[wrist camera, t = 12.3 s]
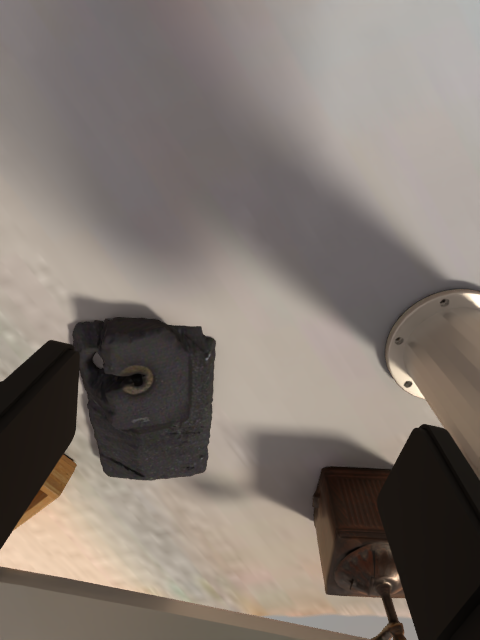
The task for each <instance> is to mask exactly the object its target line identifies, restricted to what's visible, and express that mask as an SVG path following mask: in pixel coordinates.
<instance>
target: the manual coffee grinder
mask: <svg viewBox="0 0 480 640" xmlns="http://www.w3.org/2000/svg"><path fill="white" fill-rule="evenodd" d="M390 472H391V470H388V469H369V468H351V467H326V468H322V471H321V475H320V479H319V483H318V486H317V490H316V493H315V494H314V496H313V505H312V506H313V507H315V508H314V525H315V528H316V533H317V540H318V547H319V553H320V560H321V566H322V572H323V578H324V584H325V592H326V594H328V595H339V596H358V597H380V598H382V601H383V604H384V607H385V610H386V614H387V617H388V621H389V623H388V624H387V626H385V628H384V629H383V630H382V632H380V634H378V636H376V637H374V638H372V639H371V640H390V639H391V638H392V637H393V640H406V638H405V637H404V629H403V624H402V623H400V622H399V621H398V618H397V615H396V612H395V609H394V605H393V602H392V598H405V594H404V591H403V588H402V585H401V582H400V578H399V575H398V572H397V569H396V566H395V562H394V559H393V556H392V553H391V550H390V546H389V543H388V540H387V537H386V534H385V530H384V527H383V524H382V521H381V518H380V514H379V511H378V507H377V498H378V495H379V492H380V491H381V489H382V487H383V485H384V483H385V481H386V479H387V477H388V476H389V474H390Z"/></svg>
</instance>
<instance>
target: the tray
mask: <svg viewBox="0 0 480 640" xmlns="http://www.w3.org/2000/svg"><path fill="white" fill-rule="evenodd" d="M76 466H77V465H76V463H74V462H73V461H72V460H70V459H69V458H68V457H66V456H65V455H62V457H61V458H60V460H59V461H58V463H57V464H56V466H55V467H54V469H53V470H52V472H51V473H50V475H49V477H48V478H47V480H46V481H45V483H44V484H43V486H42V487H41V489H40V490H39V492H38V493H37V495H36V496H35V498H34V499H33V501H32V502H31V504H30V505H29V507H28V508H27V510H26V511H25V513H24V514H23V516H22V517H21V519H20V520H19V522H18V523H17V525H16V527H15V528H14V530H15V529H16V528H17V527H19V526H20V525H21V524H23V523H24V522H25V521H27V520H28V519H30V518H31V517H32V516H34V515H35V514H36V513H38V512H39V511H40V510H42V509H43V508H44V507H46V506H47V505H48V504H50V503H51V502H53V501H54V500H55V499H57V498H58V497H59V496H60V495H61V493H62V491H63V489H64V488H65V486H66V484H67V482H68V481H69V479H70V477H71V476H72V474H73V472H74V470H75V467H76Z"/></svg>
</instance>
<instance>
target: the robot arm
mask: <svg viewBox="0 0 480 640" xmlns="http://www.w3.org/2000/svg"><path fill="white" fill-rule="evenodd" d="M441 300H442V301H441ZM396 338H397V339H396ZM385 359H386V363H387V367H388V369H389V371H390V373H391V375H392V377H393V378H394V380H395V381H396V383H397V384H398V385H399V386H400V387H401V388H402V389H403V390H405V391H406V392H408V393H410V394H411V395H413V396H416V397H419V398H422V399H426V401H427V402H428V404H429V406H430V407H431V409H432V410H433V412H434V413H435V415H436V416H437V418H438V419H439V421H440V422H441V424H442V425H443V427H444V428H445V429H444V428H440V427H436V426H431V425H427V424H423V425H421V426H420V427H419V428H415V429H413V431H412V432H411V434H410V436H409V438H408V440H407V442H406V444H405V445H404V447H403V449H402V451H401V453H400V455H399V457H398V459H397V460H396V462H395V464H394V466H393V468H392V470H391V472H390V474H389V476H388V477H387V479H386V481H385V483H384V485H383V487H382V489H381V491H380V492H379V495H378V498H377V507H378V511H379V514H380V518H381V521H382V524H383V527H384V530H385V534H386V537H387V540H388V543H389V546H390V550H391V553H392V556H393V559H394V562H395V566H396V569H397V572H398V575H399V578H400V582H401V585H402V588H403V591H404V594H405V598H406V601H407V604H408V607H409V610H410V614H411V617H412V620H413V623H414V626H415V630H416V633H417V636H418V639H419V640H480V291H475V290H469V289H454V290H448V291H442V292H439V293H436V294H433V295H430V296H428V297H426V298H424V299H422V300H420V301H419V302H417V303H416V304H414V305H413V306H412V307H410V308H409V309H408V310H407V311H406V312H405V313H404V314H403V315H402V316H401V317H400V318H399V319H398V320H397V322H396V323H395V325H394V326H393V328H392V330H391V332H390V334H389V336H388V339H387V343H386V348H385ZM79 362H80V354H79V352H78V351H74V346H73V345H71V344H67V343H62V342H58V341H54V340H49V341H48V342H47V343H45V344H44V345H43V346H42V347H41V348H40V349H39V350H38V351H36V352H35V353H34V354H33V355H32V356H31V357H30V358H29V359H27V360H26V361H25V362H24V363H23V364H22V365H21V366H20V367H18V368H17V369H16V370H15V371H14V372H13V373H12V374H11V375H9V376H8V377H7V378H6V379H5V380H4V381H1V382H0V549H1V548H2V546H3V545H4V543H5V542H6V540H7V539H8V537H9V536H10V534H11V533H12V531H13V530H14V528H15V527H16V525H17V523H18V522H19V520H20V519H21V517H22V516H23V514H24V513H25V511H26V510H27V508H28V507H29V505H30V504H31V502H32V501H33V499H34V498H35V496H36V495H37V493H38V492H39V490H40V489H41V487H42V486H43V484H44V483H45V481H46V480H47V478H48V477H49V475H50V473H51V472H52V470H53V469H54V467H55V466H56V464H57V463H58V461H59V460H60V458H61V457H62V455H63V454H64V452H65V451H66V449H67V448H68V446H69V445H70V443H71V441H72V439H73V437H74V434H75V430H76V416H77V398H78V380H79ZM0 640H371V639H367V638H362V637H357V636H352V635H347V634H342V633H338V632H333V631H328V630H323V629H318V628H313V627H309V626H303V625H298V624H294V623H289V622H284V621H278V620H274V619H269V618H264V617H259V616H254V615H249V614H244V613H239V612H234V611H229V610H224V609H219V608H214V607H210V606H205V605H200V604H195V603H190V602H185V601H180V600H174V599H169V598H164V597H159V596H154V595H149V594H144V593H139V592H134V591H129V590H123V589H118V588H113V587H108V586H103V585H98V584H93V583H88V582H83V581H77V580H72V579H67V578H62V577H56V576H51V575H45V574H39V573H34V572H28V571H22V570H17V569H11V568H5V567H0Z"/></svg>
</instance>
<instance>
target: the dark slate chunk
mask: <svg viewBox="0 0 480 640" xmlns="http://www.w3.org/2000/svg"><path fill="white" fill-rule="evenodd" d="M73 339H74V341H73V346H74V351H78V352H79V354H80V362H79V370H80V373H81V377H82V379H83V383H84V386H85V390H86V391H87V394H88V399H89V402H88V404H87V406H88V409H89V416H90V421H91V424H92V426H93V429H94V432H95V434H94V435H95V438H96V440H97V444H98V448H99V454H100V461H101V464H102V467H103V471H104V472H105V473H106V474H107V475H108V476H110V477H118V478H129V479H136V480H156V479H168V478H176V477H186V476H193V475H194V474H199V473H203V472H204V471H205V470H206V466H207V460H208V449H207V446H208V444H209V438H210V428H211V420H212V404H211V403H212V401H213V398H212V396H213V380H214V360H215V345H216V341H215V340H214V339H212V338H206V337H205V335H203V333H202V328H201V326H196V327H190V326H174V325H167V324H165V323H163V322H161V321H159V320H156V319H145V318H124V317H117V318H114V319H112V320H108V319H105V321H104V322H103V321H97V320H95V322H94V323H90V322H84V323H81V322H79V323H77V324H76V326H75V329H74V331H73ZM96 352H98V354H99V355H100V356H101V357H102V359H103V362H104V364H103V367H104V368H102V369H99V368H98V367H97V366H96V365H95V364H94V363H93V360H92V359H93V356H94V354H95V353H96Z"/></svg>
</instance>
